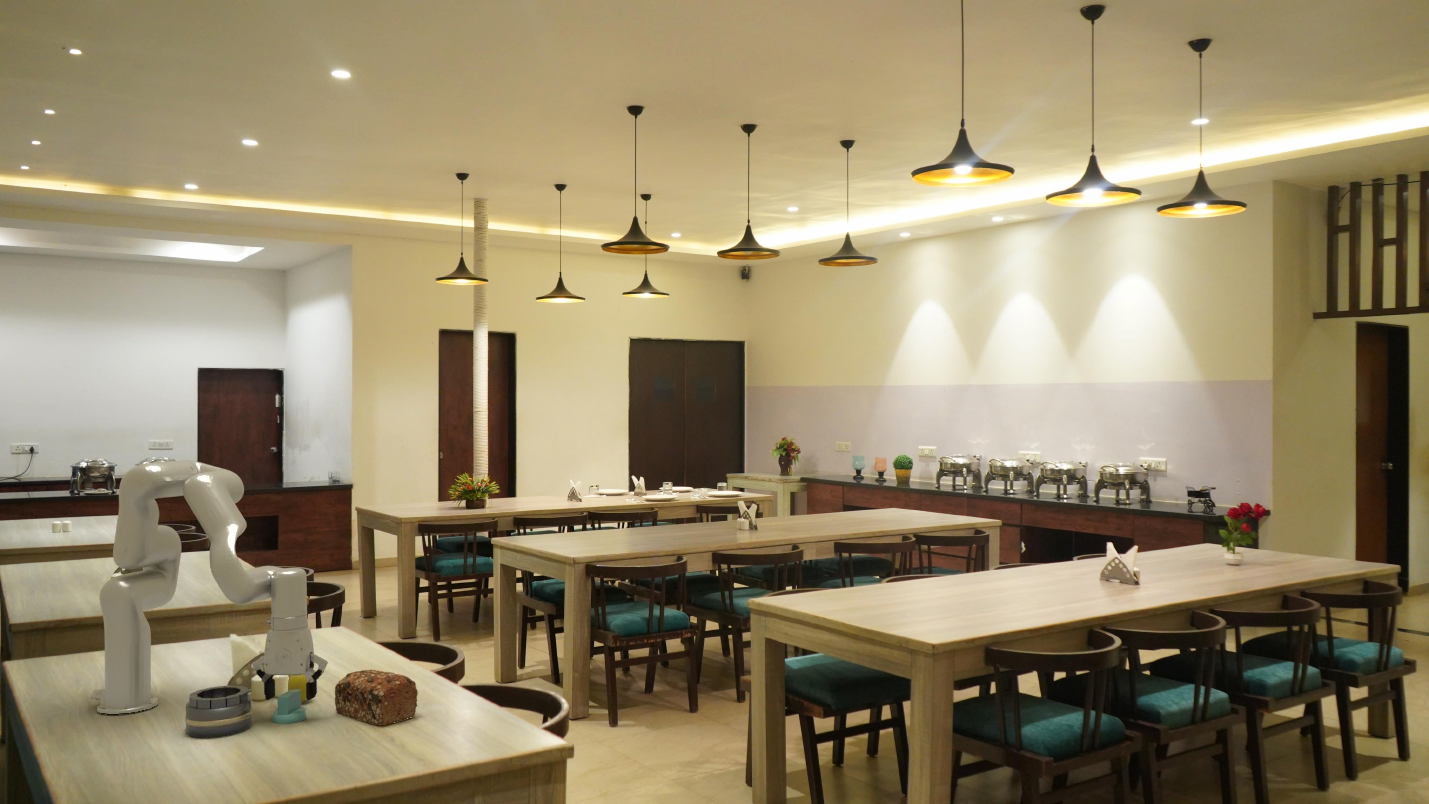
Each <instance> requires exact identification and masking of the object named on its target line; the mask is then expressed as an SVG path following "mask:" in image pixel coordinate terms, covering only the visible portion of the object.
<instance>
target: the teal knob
mask: <svg viewBox="0 0 1429 804" xmlns="http://www.w3.org/2000/svg"><path fill="white" fill-rule="evenodd" d="M276 703H277V709H275V710H273V711H272V723H274V724H277V725H289V724H290V725H291V724H296V723H299V722H302V721H304V720H306V718H307V709H306V708H305V706H302V702H301V690H289V691H288V690H287V691H285V692H284V693H282V694H280V695H278V696H277V702H276Z"/></svg>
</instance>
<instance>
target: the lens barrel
mask: <svg viewBox="0 0 1429 804" xmlns="http://www.w3.org/2000/svg"><path fill="white" fill-rule="evenodd" d="M188 699H189V701H188V702H187V703H186V706H185V735H186V734H187V735H186V736H187V737H189V736H190V738H194V739H216V738H217V739H218V738H224V737H229V736H232V735H236V734H237V735H239V734H240V733H241V734H242V733H243V732H245V731H247V730H249V729H250V728H251V727H252V715H253V708H252V697H251V696H250V695H249V688H248V687H246V686H242V685H220V686H219V685H218V686H212V687H207V688H202V689H198V690H196V691H194V692H192V693H190V694H189V697H188Z"/></svg>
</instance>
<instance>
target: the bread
mask: <svg viewBox="0 0 1429 804" xmlns="http://www.w3.org/2000/svg"><path fill="white" fill-rule="evenodd" d="M416 685H417V683H416V682H415V681H414V680H412V679H411V678H410V677H408V676H406V675H404V674H401V673H395V672H391V671H383V670H376V669H362V670H356V671H353V672H350V673H346V675H345V676H344V677H343V678H342V679H340V680H339V681H338V682H337V684H335V687H334V696H335V697H334V705H335V711H336V713H337V714H338V715H342V716H344V715H345V717H347V718H348V717H349V718H350V719H354V718H355V719H354V720H357V719H358V720H357V721H360V720H361V722H364V723H366V722H367V724H369V725H374V726H387V725H392V724H395V723H394V722H396V723H398V722H397V721H399V722H402V721H401V720H404V721H406V720H405V719H407V718H410V717H413V716H415V715H416V710H417V707H418V703H417V702H418V693H419V691H418V689H417V686H416ZM413 718H414V717H413ZM407 720H408V719H407ZM391 723H392V724H391Z"/></svg>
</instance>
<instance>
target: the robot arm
mask: <svg viewBox="0 0 1429 804" xmlns="http://www.w3.org/2000/svg"><path fill="white" fill-rule="evenodd" d="M244 493H245V486H244V483H243V480H242V479H241V477H240V476H238V474H237V473H235V472H233V471H231V470H229V469H225V468H221V467H218V466H214V465H211V464H209V463H204V462H201V461H196V460H189V459H188V460H170V461H169V460H167V461H155V462H147V463H143V464H138V465H136V466H134V467H132V468H130V469H129V470H127V472H126V473H124V474H123V477H122V478H121V480H120V484H119V488H118V515H117V520H116V521H117V522H116V526H115V535H114V542H113V548H112V549H113V550H112V551H113V552H112V558H113V561H114V564H115V565H116V566H117V567H118V568H121V569H123V570H137V569H142V571H141V570H140V571H134V572H129V573H125V574H124V573H123V574H120V575H117V576H115V577H112V578H110V579H109V580H107V581H106V582H105V583H104V584H103V586H102V587H101V589H100V592H99V605H100V609H101V614H102V619H103V627H104V628H103V629H104V689H103V688H102V689H101V688H96V689H93V690H92V693H91V694H90V699H91V700H100V703H99V704H98V705H97V707H96V711H97V713H99V712H101V713H108V714H119V713H129V714H131V713H130V712H135V713H139V712H138V711H140V712H143V711H142V710H144V711H147V710H149V709H153V708H154V706H155V707H157V705H159V698H158V697H157V696H153V695H152V663H151V662H152V649H151V648H152V643H151V642H152V637H151V636H152V634H151V627H150V624H149V622H148V620H147V618H146V616H145V613H144V612H146V611H149V610H152V609H153V610H154V609H157V608H159V607H162V606H165V605H167V604H168V603H170V602H171V601H172V599H173V597H174V596H175V593H176V590H177V585H178V578H179V572H180V565H181V557H182V556H181V555H182V541H181V538H180V535H179V533H178V532H177V531H176V530H175V529H174V528H173V527H170V526H168V525H161V524H160V525H159V518H160V510H159V506H158V502H157V501H156V500H155V499H163V498H174V497H184V499H185V501H186V503H187V504H188V506H189V507H190V509H191V511H192V513H193V515H194V516H195V517H196V519H197V521H198V523H199V524H200V526H201V528H202V529H203V531H204V533H205V534H206V536H207V538H208V539H209V542H210V547H209V553H208V554H209V566H210V572H211V575H212V576H213V579H214V581H215V582H216V584H217V585H218V587H219V589H220V590H221V592H222V594H224V596H225V598H227V599H228V600H229V601H230V602H232V603H233V604H235V605H240V606H245V605H249V604H253V603H256V602H260V601H265V600H268V599H270V600H271V602H270V606H271V607H270V608H271V616H270V617H267V618H266V621H265V624H266V625H270V628H271V629H268V630H267V634H266V638H265V644H264V646H265V647H264V653H263V655H264V656H262V657H259V658H258V659H256V660H254V661H253V662H252V666H253V668H254V671H256V672H255V673H256V675H257V676H258V677H259V678H260V680H261V682H262V683H263V692H264V693H263V695H264V699H265V701H269V700H271V699H273V698H274V697H276V680H275V678H274V676H292V675H302V674H303V675H304V676H305V677H306V679H307V680H308V682H307V683H306V699H305V700H306V701H310V700H313V699H314V698H315V697H316V695H317V693H318V679H319V678H320V677H321V676H322V675H323V674H324V673H325V670H326V669H327V665H328V664H329V661H328V660H326V659H324V658H322V657H321V656H318V655H317V654H315V650H314V642H313V641H314V640H313V636H312V631H311V628H310V627H308V597H307V596H308V595H307V594H308V592H307V591H308V588H307V586H308V585H307V581H308V580H307V579H308V578H307V572H306V571H305V569H303V568H301V567H287V568H286V567H279V566H274V565H262V566H259V567H255V568H250V569H245V568H244V566H243V565H242V563H241V562H240V560H239V558H238V556H237V553H236V542H237V539H238V537H239V536H241V535H242V534H243V533H244V532H245V530H246V528H247V526H248V525H247V520H245V519H246V518H244V517H243V515H242V513H241V511H240V510H239V507H238V506H237V505H236V504H237V503H238V502H240V500H242V498H243V496H244ZM315 664H316V665H317V666H318V667H317V669H316V670H315V669H314V668H315ZM152 707H153V708H152ZM146 709H147V710H146ZM101 713H100V714H101ZM119 715H120V714H119Z"/></svg>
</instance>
